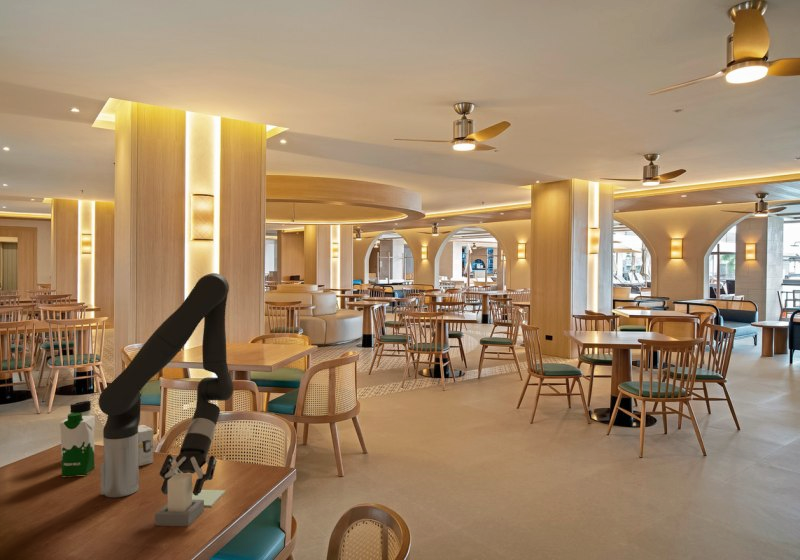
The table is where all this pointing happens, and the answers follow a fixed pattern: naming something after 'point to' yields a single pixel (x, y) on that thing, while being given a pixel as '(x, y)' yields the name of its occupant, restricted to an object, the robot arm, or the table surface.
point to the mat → (208, 496)
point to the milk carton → (77, 444)
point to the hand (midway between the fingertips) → (179, 493)
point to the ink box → (145, 445)
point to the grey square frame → (179, 515)
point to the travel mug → (81, 408)
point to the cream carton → (180, 493)
